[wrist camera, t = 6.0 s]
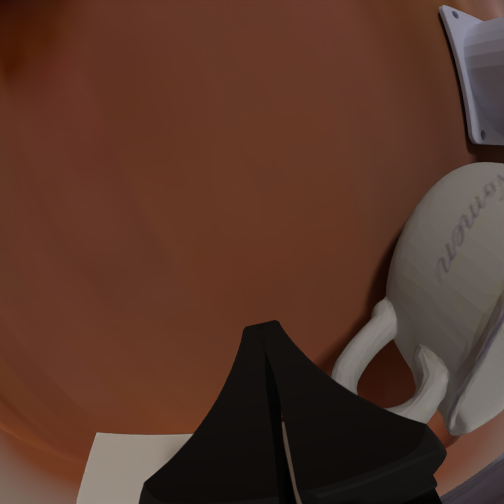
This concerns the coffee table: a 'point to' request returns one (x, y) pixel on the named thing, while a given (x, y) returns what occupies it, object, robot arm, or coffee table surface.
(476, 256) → the teacup
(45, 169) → the coffee table surface
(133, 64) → the coffee table surface
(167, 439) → the cream slab
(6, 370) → the coffee table surface
